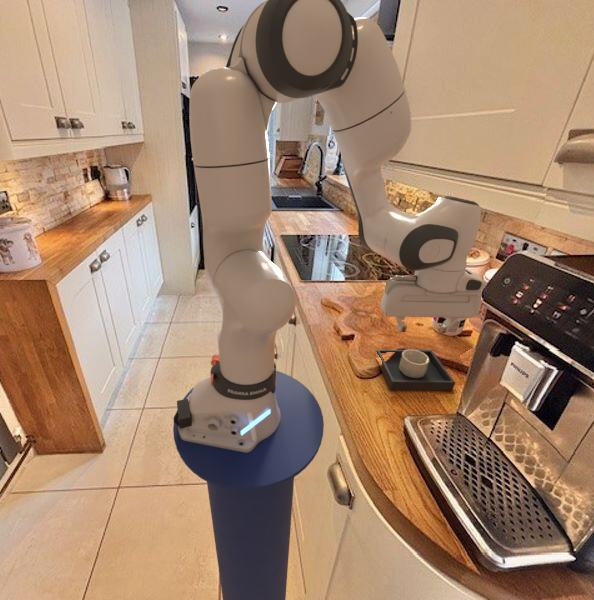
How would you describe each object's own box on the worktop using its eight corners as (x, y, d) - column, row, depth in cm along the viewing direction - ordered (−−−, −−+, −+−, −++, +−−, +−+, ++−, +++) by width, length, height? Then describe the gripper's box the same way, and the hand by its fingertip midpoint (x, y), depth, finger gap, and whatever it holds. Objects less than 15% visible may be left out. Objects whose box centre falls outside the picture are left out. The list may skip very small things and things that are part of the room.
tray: (390, 390, 76) (392, 381, 75) (375, 357, 87) (376, 349, 85) (452, 391, 75) (455, 382, 74) (429, 357, 86) (431, 349, 85)
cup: (403, 379, 78) (407, 364, 76) (395, 363, 83) (398, 349, 81) (429, 379, 78) (433, 364, 76) (418, 363, 83) (422, 349, 81)
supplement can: (424, 323, 101) (437, 279, 94) (447, 320, 102) (461, 277, 95) (443, 338, 94) (457, 292, 87) (467, 334, 95) (484, 289, 88)
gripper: (392, 281, 66) (380, 338, 72) (495, 283, 65) (473, 340, 72) (383, 269, 71) (372, 323, 78) (477, 271, 71) (458, 324, 77)
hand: (421, 331), depth 75 cm, fingers open, 8 cm apart
